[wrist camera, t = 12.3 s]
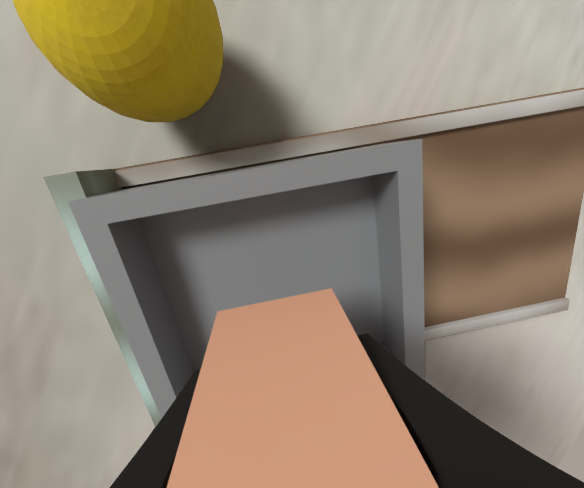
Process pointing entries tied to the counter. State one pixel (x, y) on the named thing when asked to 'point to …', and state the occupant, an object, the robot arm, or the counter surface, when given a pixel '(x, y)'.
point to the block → (293, 406)
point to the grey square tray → (263, 252)
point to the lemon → (132, 51)
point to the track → (428, 206)
